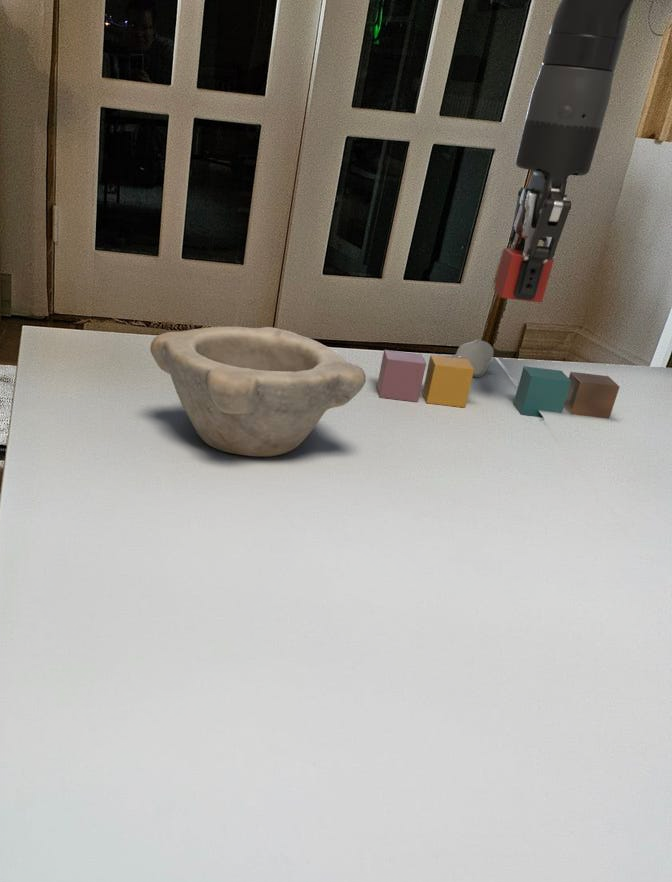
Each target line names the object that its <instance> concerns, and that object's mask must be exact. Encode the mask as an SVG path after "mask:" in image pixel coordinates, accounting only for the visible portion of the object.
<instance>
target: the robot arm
mask: <svg viewBox="0 0 672 882" xmlns="http://www.w3.org/2000/svg"><path fill="white" fill-rule="evenodd" d="M634 2H635V0H561V1H560V3H559V5H558V7H557V9H556V11H555V14H554V17H553V20H552V23H551V26H550V30H549V34H548V37H547V41H546V46H545V50H544V54H543V58H542V63H541V66H540V69H539V73H538V75H537V78H536V81H535V83H534V87H533V89H532V92H531V96H530V100H529V105H528V108H527V113H526V117H525V121H524V124H523V128H522V133H521V137H520V141H519V145H518V149H517V154H516V157H515V165H516V167H517V168H519V169H523V170H528V171H532V173H531V176H530V178H529V182H528V183H527V184H528V185H527V187H520V189H519V190H518V192H517V200H516V206H515V211H514V216H513V222H512V227H511V233H510V236H509V240H508V241H509V245H510V249H514V250H523V254H522V262H521V266H520V270H519V274H518V278H517V282H516V285H515V289H514V296H515V297H516V298H518V299H526V300H532V299H533V298H534V297H535V295H536V291H537V287H538V284H539V280H540V276H541V273H542V269H543V265H544V264H546V263H547V260H552V259H554V258H553V257H555V253H556V250H557V247H558V244H559V242H560V238H561V235H562V233H563V231H564V227H565V226H566V221H567V219H568V217H569V214H570V211H571V209H572V201H571V200H568V194H566V189H567V183H568V178H569V176H579V177H581V176H586V175H588V174H589V172H590V169H591V166H592V162H593V159H594V155H595V153H596V152H595V151H596V148H597V145H598V141H599V138H600V134H601V131H602V128H603V127H602V126H603V123H604V119H605V117H606V113H607V109H608V107H609V102H610V98H611V91H612V85H613V80H614V76H615V71H616V67H617V64H618V61H619V57H620V53H621V49H622V46H623V42H624V39H625V34H626V31H627V25H628V21H629V16H630V13H631V9H632V7H633V4H634ZM540 241H542V242H543V245H539V242H540ZM525 261H526V262H525ZM542 263H543V264H542Z"/></svg>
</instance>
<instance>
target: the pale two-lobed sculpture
mask: <svg viewBox="0 0 672 882" xmlns="http://www.w3.org/2000/svg"><path fill="white" fill-rule="evenodd" d="M494 352H495V351H494V348H493V346H492V345H491V344H490V343H489V342H487V341H484V340H481V339H479V338H476V339H474V340H472V341H469V342H465V343H463V344H461V345H460V346H458V348H457V350H456V353H455V354H454V355H453V356H452V358H459V359H467V360H469V362H470V363H471V365H472V367H473V368H474V373H473V377H472V378H480V377H482V376H483V375H484V374H485V373H486V372H487V370H488V368H489V364H490V361H491V360H492V358H493V356H494ZM458 356H461V357H458Z"/></svg>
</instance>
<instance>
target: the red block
mask: <svg viewBox="0 0 672 882" xmlns="http://www.w3.org/2000/svg"><path fill="white" fill-rule="evenodd" d="M522 254H523V250H514V249H511V248H504V249H503V252H502V256H501V259H500V264H499V267H498V272H497V275H496V279H495V284H494V287H493V291H494V292H495V293H496V294H497V295H498V296H499V297H500V298H501V299H508V300H516V301H525V302H533V303H543V300H544V297H545V293H546V290H547V286H548V283H549V279H550V275H551V271H552V268H553V263H554V261H555V259H554V258H552V260H547V263H546V264H544V265H543V269H542V273H541V276H540V280H539V284H538V287H537V291H536V295H535V297H534V298H533V299H532V300H526V299H518V298H516V297H515V296H514V289H515V285H516V282H517V278H518V274H519V270H520V266H521V262H522ZM525 262H526V261H525ZM542 264H543V263H542Z"/></svg>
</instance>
